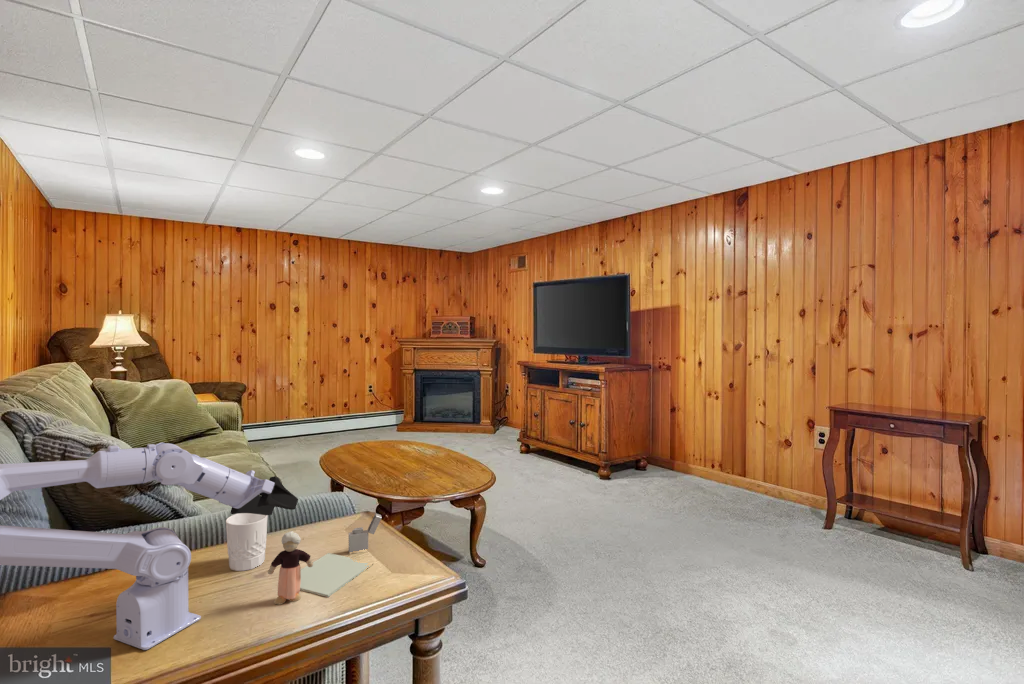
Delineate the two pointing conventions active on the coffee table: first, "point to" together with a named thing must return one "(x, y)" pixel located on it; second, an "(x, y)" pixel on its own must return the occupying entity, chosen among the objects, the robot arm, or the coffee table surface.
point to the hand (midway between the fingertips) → (284, 507)
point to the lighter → (362, 535)
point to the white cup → (246, 540)
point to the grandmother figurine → (289, 568)
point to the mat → (329, 574)
